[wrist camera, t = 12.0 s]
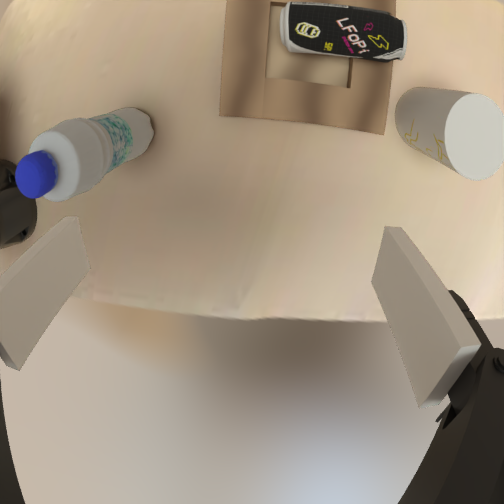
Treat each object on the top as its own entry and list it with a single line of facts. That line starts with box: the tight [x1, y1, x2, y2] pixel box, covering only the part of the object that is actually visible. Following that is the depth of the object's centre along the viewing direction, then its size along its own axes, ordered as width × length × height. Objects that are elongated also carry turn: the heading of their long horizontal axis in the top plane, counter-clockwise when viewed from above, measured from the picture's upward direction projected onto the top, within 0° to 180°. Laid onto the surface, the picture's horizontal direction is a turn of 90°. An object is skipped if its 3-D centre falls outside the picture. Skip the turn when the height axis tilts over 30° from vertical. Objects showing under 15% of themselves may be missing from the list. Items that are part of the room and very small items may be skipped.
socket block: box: [219, 0, 396, 135], centre depth 26 cm, size 18×18×2 cm
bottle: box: [15, 108, 154, 202], centre depth 25 cm, size 7×7×20 cm
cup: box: [395, 87, 504, 181], centre depth 25 cm, size 8×8×12 cm
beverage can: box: [280, 2, 407, 63], centre depth 23 cm, size 6×6×12 cm
